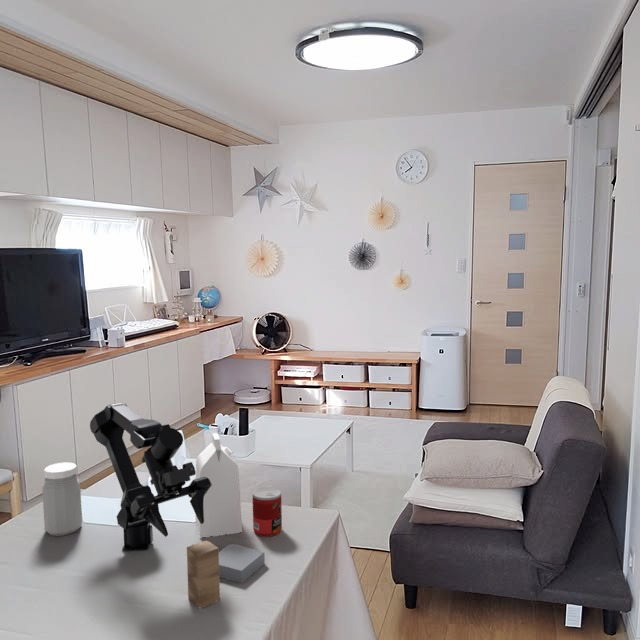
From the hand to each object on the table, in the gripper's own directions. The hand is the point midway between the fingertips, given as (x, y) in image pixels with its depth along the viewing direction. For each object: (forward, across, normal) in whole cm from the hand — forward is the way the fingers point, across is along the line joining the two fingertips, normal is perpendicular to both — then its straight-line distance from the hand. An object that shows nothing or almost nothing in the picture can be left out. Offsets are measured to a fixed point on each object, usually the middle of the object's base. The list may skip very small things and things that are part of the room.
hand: (185, 529), depth 140 cm
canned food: (+4, +30, +16) cm, 34 cm away
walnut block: (+15, -1, +3) cm, 16 cm away
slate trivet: (+11, +12, +8) cm, 18 cm away
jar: (-23, -12, +44) cm, 52 cm away
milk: (-4, +21, +25) cm, 33 cm away
